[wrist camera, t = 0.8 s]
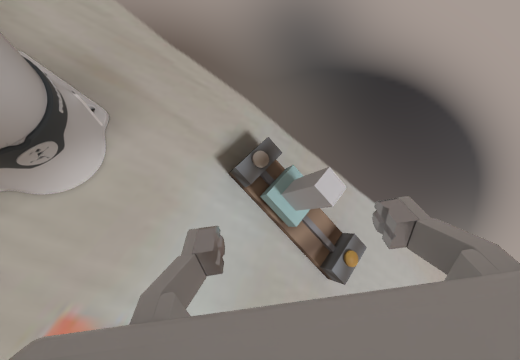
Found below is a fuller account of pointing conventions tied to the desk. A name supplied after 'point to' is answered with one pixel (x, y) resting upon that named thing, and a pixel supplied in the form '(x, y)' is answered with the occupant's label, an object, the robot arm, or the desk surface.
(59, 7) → the desk surface
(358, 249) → the rail
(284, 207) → the block
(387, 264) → the desk surface
